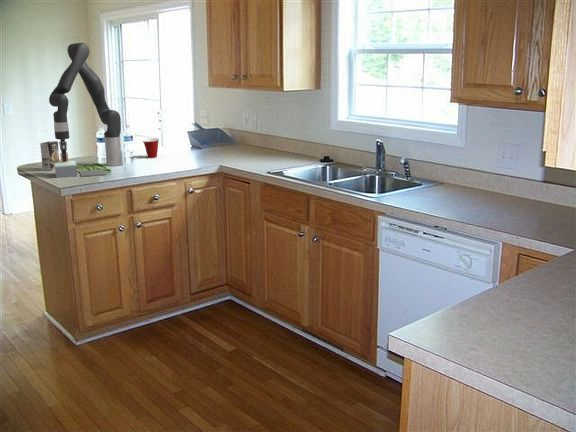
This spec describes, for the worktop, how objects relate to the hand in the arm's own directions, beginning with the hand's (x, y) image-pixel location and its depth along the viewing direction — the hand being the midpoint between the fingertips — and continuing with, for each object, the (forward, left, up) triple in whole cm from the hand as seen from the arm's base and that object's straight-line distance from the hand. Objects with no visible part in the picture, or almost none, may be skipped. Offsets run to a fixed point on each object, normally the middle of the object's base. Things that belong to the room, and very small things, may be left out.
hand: (64, 160), depth 349 cm
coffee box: (+7, -18, -8) cm, 21 cm away
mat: (-14, +6, -8) cm, 17 cm away
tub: (0, +4, -8) cm, 8 cm away
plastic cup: (-55, -36, -8) cm, 66 cm away
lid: (0, +4, -3) cm, 4 cm away
